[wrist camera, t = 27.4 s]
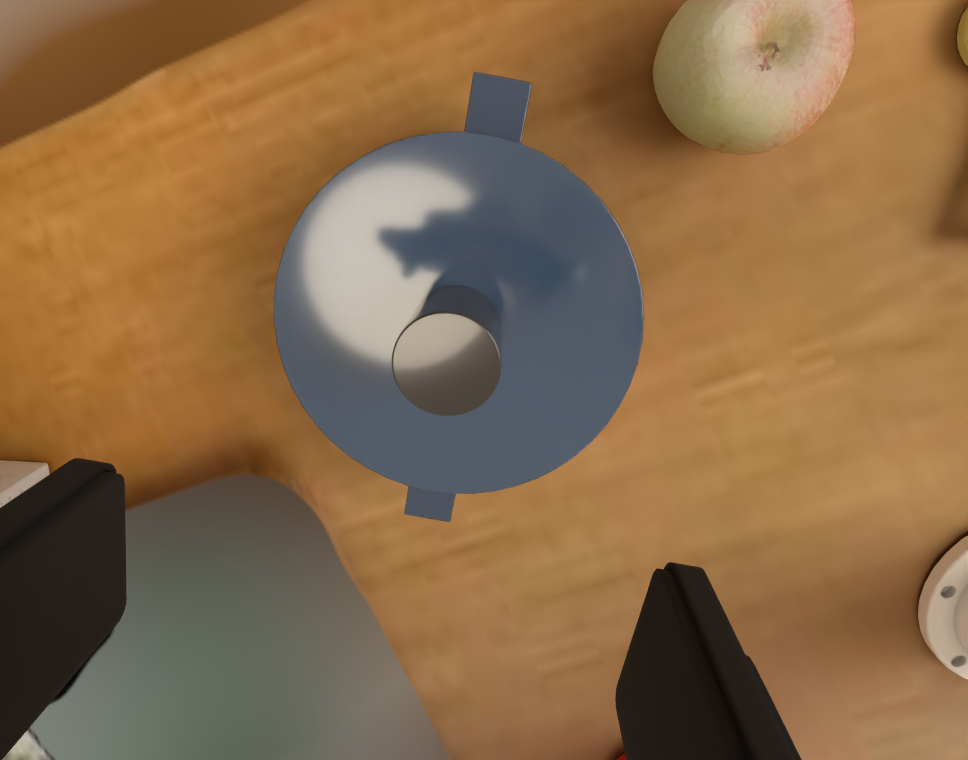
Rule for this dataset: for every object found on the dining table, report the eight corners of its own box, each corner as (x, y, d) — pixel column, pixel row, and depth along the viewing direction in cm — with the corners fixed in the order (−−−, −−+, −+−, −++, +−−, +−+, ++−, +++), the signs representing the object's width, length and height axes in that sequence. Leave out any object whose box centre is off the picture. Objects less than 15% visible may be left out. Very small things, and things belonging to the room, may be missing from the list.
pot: (657, 122, 31) (694, 111, 24) (564, 489, 37) (575, 552, 31) (348, 62, 30) (307, 36, 24) (311, 444, 37) (273, 499, 31)
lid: (682, 172, 26) (734, 174, 20) (591, 507, 31) (611, 587, 25) (296, 98, 25) (233, 78, 20) (271, 450, 31) (215, 518, 25)
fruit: (692, 188, 31) (751, 195, 24) (614, 58, 30) (650, 22, 22) (832, 90, 30) (942, 65, 22) (757, -54, 28) (850, -135, 20)
